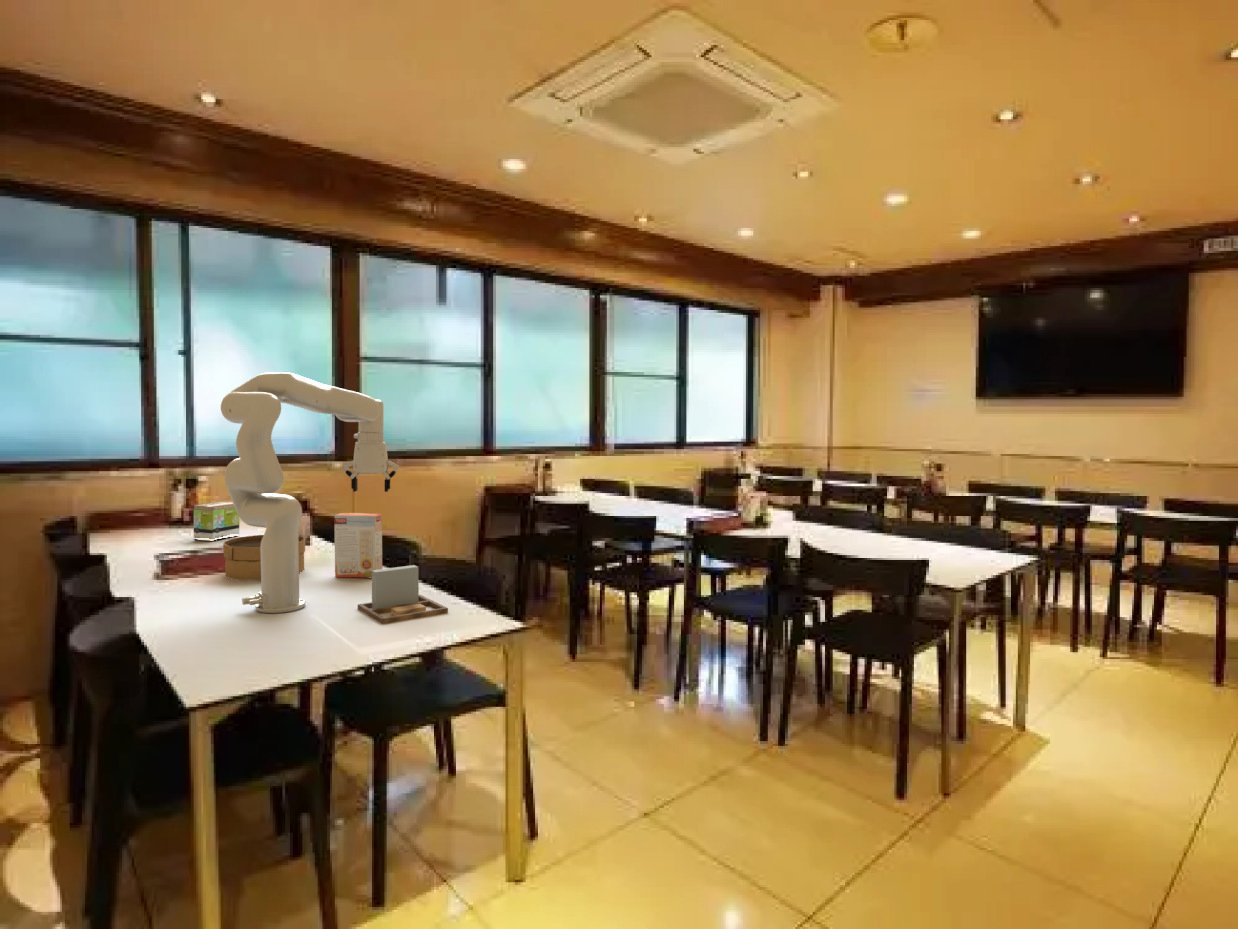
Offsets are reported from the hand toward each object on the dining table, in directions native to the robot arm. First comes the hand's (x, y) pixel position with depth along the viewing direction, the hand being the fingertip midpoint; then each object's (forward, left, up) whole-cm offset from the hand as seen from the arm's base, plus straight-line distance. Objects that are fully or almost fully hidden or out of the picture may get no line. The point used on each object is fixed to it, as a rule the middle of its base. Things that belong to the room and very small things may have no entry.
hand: (370, 491), depth 235 cm
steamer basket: (-24, +33, -30) cm, 50 cm away
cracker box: (-1, +9, -29) cm, 31 cm away
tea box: (-24, +112, -29) cm, 118 cm away
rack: (-8, -44, -29) cm, 53 cm away
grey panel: (-8, -39, -29) cm, 49 cm away
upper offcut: (-8, -48, -28) cm, 56 cm away
